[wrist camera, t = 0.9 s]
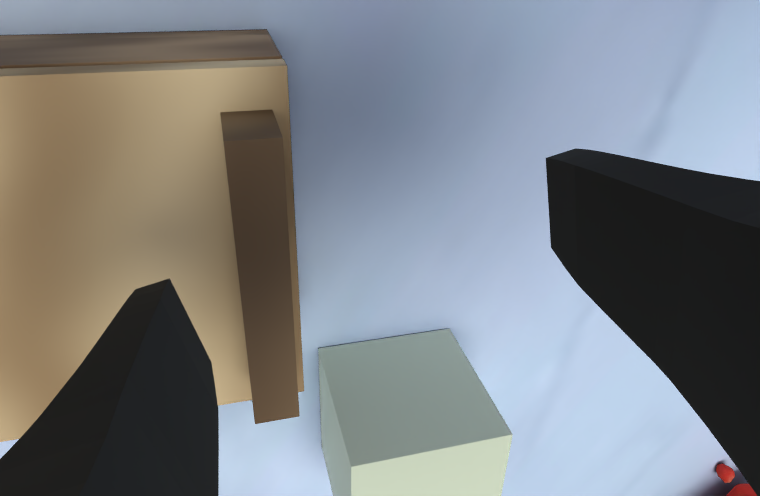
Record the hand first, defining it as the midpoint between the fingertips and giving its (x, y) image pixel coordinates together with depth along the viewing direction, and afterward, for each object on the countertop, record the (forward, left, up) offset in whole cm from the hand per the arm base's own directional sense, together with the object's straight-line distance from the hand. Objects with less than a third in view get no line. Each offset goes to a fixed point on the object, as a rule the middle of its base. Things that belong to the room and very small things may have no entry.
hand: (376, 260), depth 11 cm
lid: (+7, +2, -6) cm, 9 cm away
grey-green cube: (-3, +13, -10) cm, 16 cm away
